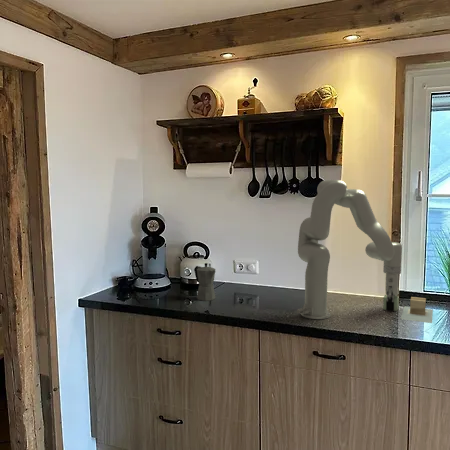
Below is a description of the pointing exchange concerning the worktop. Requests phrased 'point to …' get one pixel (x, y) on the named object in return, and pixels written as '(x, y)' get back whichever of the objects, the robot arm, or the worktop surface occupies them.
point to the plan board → (417, 315)
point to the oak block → (417, 305)
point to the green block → (396, 300)
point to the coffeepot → (205, 282)
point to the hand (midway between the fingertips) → (390, 308)
